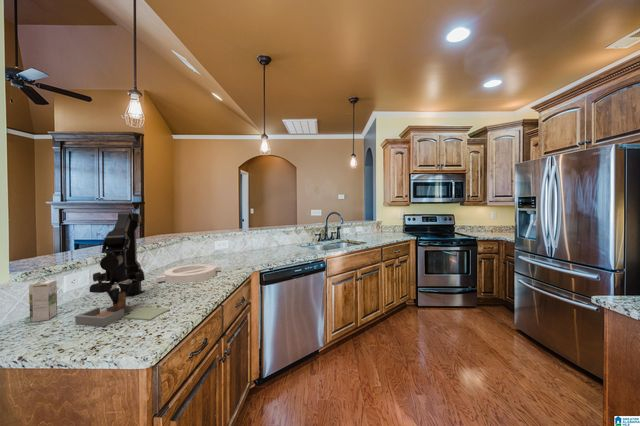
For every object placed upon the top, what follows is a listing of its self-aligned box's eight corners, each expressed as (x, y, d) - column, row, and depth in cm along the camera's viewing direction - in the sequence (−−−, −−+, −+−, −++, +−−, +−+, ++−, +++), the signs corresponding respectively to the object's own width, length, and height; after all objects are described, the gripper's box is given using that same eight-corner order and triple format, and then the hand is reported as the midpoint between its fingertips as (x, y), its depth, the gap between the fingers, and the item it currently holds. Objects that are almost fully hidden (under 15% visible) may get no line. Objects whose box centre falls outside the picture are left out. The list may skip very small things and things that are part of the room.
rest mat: (144, 308, 113) (144, 307, 113) (169, 309, 111) (169, 308, 111) (123, 318, 103) (123, 316, 103) (150, 320, 101) (150, 319, 101)
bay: (97, 314, 107) (97, 307, 106) (123, 317, 104) (123, 309, 104) (75, 324, 98) (75, 316, 98) (103, 326, 96) (103, 318, 96)
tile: (105, 316, 106) (105, 311, 106) (118, 317, 105) (118, 312, 105) (90, 323, 100) (90, 317, 100) (103, 324, 99) (103, 318, 99)
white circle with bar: (222, 271, 175) (222, 263, 175) (202, 284, 147) (202, 275, 147) (180, 271, 176) (180, 264, 176) (153, 284, 148) (152, 275, 148)
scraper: (115, 309, 112) (115, 290, 112) (132, 310, 110) (131, 291, 110) (106, 313, 108) (106, 293, 108) (123, 314, 106) (122, 294, 106)
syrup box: (39, 316, 106) (37, 280, 105) (58, 314, 108) (56, 278, 107) (29, 322, 100) (27, 284, 100) (50, 320, 102) (48, 282, 102)
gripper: (121, 259, 119) (123, 293, 120) (76, 270, 101) (78, 310, 101) (143, 260, 117) (144, 295, 118) (101, 271, 99) (103, 312, 99)
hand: (119, 302), depth 109 cm, fingers closed on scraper, 3 cm apart
